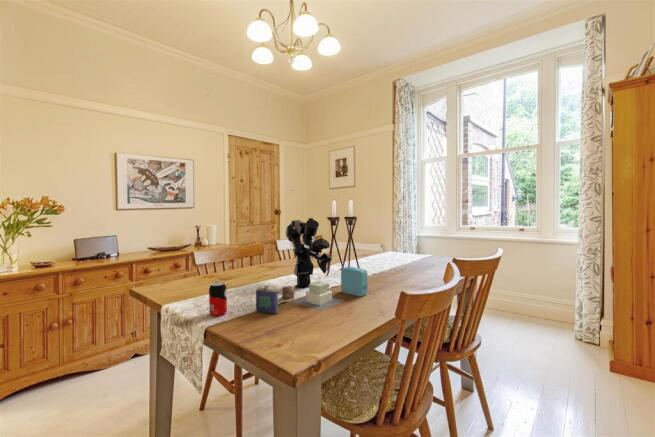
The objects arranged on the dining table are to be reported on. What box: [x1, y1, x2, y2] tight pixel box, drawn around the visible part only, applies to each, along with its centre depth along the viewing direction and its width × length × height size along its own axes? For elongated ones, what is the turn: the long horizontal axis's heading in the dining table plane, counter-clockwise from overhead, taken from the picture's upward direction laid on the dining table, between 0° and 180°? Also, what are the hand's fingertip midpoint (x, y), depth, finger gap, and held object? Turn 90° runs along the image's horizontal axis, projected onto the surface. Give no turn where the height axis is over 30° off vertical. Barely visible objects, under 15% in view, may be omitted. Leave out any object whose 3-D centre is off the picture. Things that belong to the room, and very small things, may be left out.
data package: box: [340, 266, 368, 297], centre depth 142 cm, size 12×4×12 cm, turn 50°
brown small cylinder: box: [281, 285, 295, 301], centre depth 136 cm, size 5×5×5 cm
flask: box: [255, 284, 279, 315], centre depth 119 cm, size 9×3×11 cm, turn 74°
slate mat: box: [293, 296, 346, 312], centre depth 131 cm, size 16×16×1 cm
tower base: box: [305, 290, 333, 306], centre depth 131 cm, size 8×8×4 cm
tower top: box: [308, 280, 330, 295], centre depth 131 cm, size 6×6×4 cm
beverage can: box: [208, 281, 228, 317], centre depth 117 cm, size 6×6×12 cm
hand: (317, 270), depth 132 cm, fingers open, 9 cm apart
